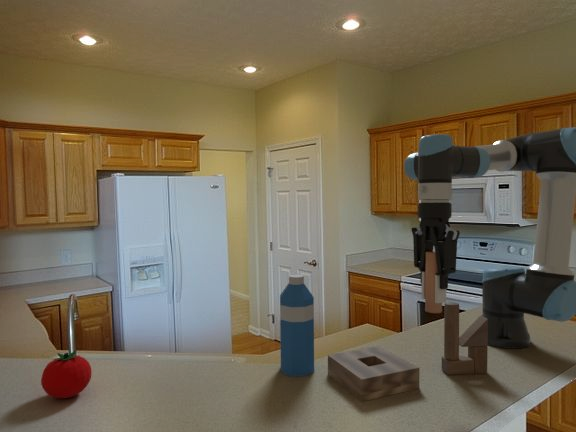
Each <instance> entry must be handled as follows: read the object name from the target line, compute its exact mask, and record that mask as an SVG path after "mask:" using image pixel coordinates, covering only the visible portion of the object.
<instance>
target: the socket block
mask: <svg viewBox="0 0 576 432" xmlns="http://www.w3.org/2000/svg"><path fill="white" fill-rule="evenodd" d="M327 374H328V375H329V376H330V377H331V378H332V379H333V380H335V381H336V382H337V383H338V384H339V385H341V386H342V387H343V388H345V389H346V390H347V392H349V393H350V394H352V395H353V396H354V397H356V398H357V399H358V400H359V401H361V402H367V401H370V400H374V399H378V398H382V397H387V396H391V395H396V394H400V393H404V392H405V393H406V392H410V391H413V390H418V389H420V367H419V366H417V365H415V364H414V363H411V362H410V361H408V360H407V359H405V358H402V357H401V356H399V355H398V354H395V353H394V352H392V351H390V350H388V349H387V348H385V347H382V346H381V345H377V346H372V347H371V346H370V347H366V348H360V349H354V350H348V351H342V352H337V353H330V354H327Z"/></svg>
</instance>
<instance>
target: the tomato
mask: <svg viewBox="0 0 576 432" xmlns="http://www.w3.org/2000/svg"><path fill="white" fill-rule="evenodd" d="M76 353H77V350H74V351H73V352H71V353H69V352H65V353H63V354H62V353H59V352H57V355H58V357H56V358H54V359H52V360H51V361H49V362H48V363H47V364H46V366H45V368H44V369H43V371H42V374H41V379H40V384H41V388H42V389H43V391H44V392H45V393H46V395H48V396H50V397H52V398H54V399H55V398H56V399H69V398H72V397H75V396H76V395H78V394H80V393H82V391H84V390H85V389H86V387H87V386H88V385H89V383H90V382H91V379H92V373H93V371H92V366H91V364H90V362H89V361H88V360H87V359H86V358H85V357H83V356H81V354H80V355H76Z"/></svg>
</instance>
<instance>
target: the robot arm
mask: <svg viewBox="0 0 576 432" xmlns="http://www.w3.org/2000/svg"><path fill="white" fill-rule="evenodd" d="M403 169H404V172H405V175H406V176H407V178H409V179H410V180H414V181H417V183H418V184H417V187H418V188H417V192H418V193H417V200H418V201H420V202H418V204H417V218H419V219H420V222H419V225H418V226H415V227H412V228H411V233H412V237H413V266H414V267H415V268H418V270H419V271H420V275H419V276H420V284H421V299H422V300H425V273H426V252H430V251H435V254H436V262H437V270H438V273H435V274H436V275H435V303H442V304H443V303H446V302H447V289H448V288H449V275H450V274H455V273H456V271H457V257H458V255H457V254H458V253H457V252H458V251H457V250H458V239H459V237H460V234H461V233H460V231H459V230H456V229H455V230H454V229H453V228H451V224H450V221H449V220H450V219H451V218H452V212H453V211H452V210H453V209H452V208H453V205H452V202H450V201H451V200H452V199H453V185H452V184H453V179H455V178H456V179H457V178H469V179H473V178H480V177H482V176H483V177H484V175H486V174H487V172H489V171H497V172H500V173H501V172H512V171H513V172H535V176H536V177H537V179H538V180H539V181H540V188H539V189H540V190H539V199H538V200H539V201H538V210H537V220H536V231H535V239H534V240H535V241H534V250H533V251H534V252H533V260H532V261H533V262H532V263H531V264H530V265H528V266H527V267H526V268H525V267H522V266H499V267H497V266H496V267H490V268H489V267H488V268H486V269H484V271H483V273H482V280H481V283H482V290H481V291H482V292H481V293H482V312H481V313H482V314H481V316H483V317H485V318H487V319H488V346H489V345H490V346H494V347H497V348H506V349H524V348H527V347H529V346H530V345H531V336H530V333H529V330H528V326H527V324H526V320H525V314H526V315H529V316H535V317H539V318H543V319H545V320H546V321H555V322H561V323H563V322H567V321H569V320H571V319H573V317H574V316H575V315H576V280H575V273H574V272H573V270H571V269H570V265H569V264H570V257H571V255H570V254H571V248H572V247H571V245H572V238H573V237H572V236H573V235H572V234H573V225H574V215H575V205H576V126H575V127H563V128H558V129H552V130H546V131H545V130H544V131H538V132H530V133H526V134H522V135H517V136H515V137H512V138H506V139H500V140H498V141H495V142H494V143H493V144H486V145H485V144H484V145H472V146H465V145H464V146H463V145H454V142H453V137H452V136H451V135H450V134H444V133H443V134H441V133H439V134H437V133H436V134H428V135H423V136H422V137H420V139H419V141H418V151H417V152H414V153H411V154H409V155H407V157H406V158H405V160H404V163H403ZM525 269H526V270H525Z"/></svg>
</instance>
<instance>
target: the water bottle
mask: <svg viewBox="0 0 576 432" xmlns="http://www.w3.org/2000/svg"><path fill="white" fill-rule="evenodd" d="M314 298H315V297H314V296H313V294H312V293H311V291H310V290H309V289H308V287H307V285H306V284H305V277H304V275H303V274H290V275H288V284H287V285H286V286H285V288H284V289H283V291H281V293H280V294H279V318H280V320H279V321H280V322H279V326H280V327H279V329H280V372H281V373H282V374H283V375H287V376H290V377H306V376H308V375H310V374H312V373H314V372H315V316H314V314H315V311H314V309H315V308H314V306H315V305H314V304H315V303H314V302H315V301H314Z"/></svg>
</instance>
